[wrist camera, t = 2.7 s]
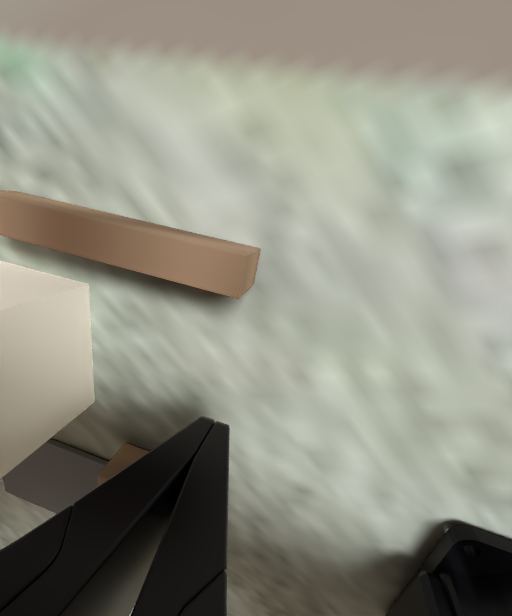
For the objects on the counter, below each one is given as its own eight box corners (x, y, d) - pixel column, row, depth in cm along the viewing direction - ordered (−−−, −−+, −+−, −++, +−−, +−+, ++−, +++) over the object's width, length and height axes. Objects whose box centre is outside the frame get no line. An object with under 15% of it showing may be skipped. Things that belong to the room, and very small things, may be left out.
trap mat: (125, 468, 12) (121, 472, 11) (123, 537, 13) (120, 542, 13) (-6, 416, 13) (-11, 419, 12) (9, 487, 14) (5, 491, 14)
